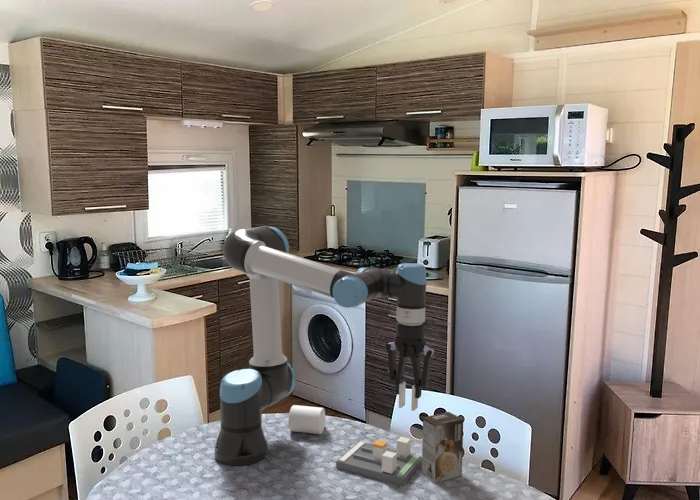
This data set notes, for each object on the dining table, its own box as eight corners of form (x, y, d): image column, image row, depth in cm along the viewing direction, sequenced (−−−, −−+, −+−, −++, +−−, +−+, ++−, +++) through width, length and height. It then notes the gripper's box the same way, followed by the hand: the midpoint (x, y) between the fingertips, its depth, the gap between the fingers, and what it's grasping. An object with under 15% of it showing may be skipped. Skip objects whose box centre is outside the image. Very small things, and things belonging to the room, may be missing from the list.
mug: (319, 438, 180) (319, 413, 179) (288, 435, 182) (288, 410, 181) (328, 422, 191) (328, 399, 190) (299, 420, 193) (299, 396, 192)
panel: (336, 467, 162) (336, 458, 161) (359, 447, 174) (359, 438, 174) (403, 486, 152) (403, 476, 152) (422, 463, 165) (422, 454, 164)
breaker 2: (396, 455, 164) (396, 440, 164) (400, 451, 167) (400, 436, 166) (406, 458, 163) (406, 443, 162) (410, 453, 166) (410, 438, 165)
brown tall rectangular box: (448, 465, 164) (450, 410, 162) (462, 476, 158) (464, 419, 156) (420, 473, 159) (422, 416, 157) (434, 484, 154) (436, 425, 152)
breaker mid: (372, 458, 162) (372, 443, 162) (377, 454, 165) (377, 439, 164) (382, 461, 161) (382, 446, 160) (386, 456, 163) (387, 441, 163)
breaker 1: (381, 470, 155) (381, 455, 155) (386, 466, 158) (386, 450, 158) (391, 473, 154) (392, 457, 154) (396, 468, 157) (396, 453, 156)
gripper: (377, 321, 155) (375, 406, 158) (434, 329, 147) (431, 418, 150) (388, 315, 161) (386, 397, 164) (444, 323, 154) (441, 408, 157)
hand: (408, 407), depth 157 cm, fingers open, 3 cm apart
